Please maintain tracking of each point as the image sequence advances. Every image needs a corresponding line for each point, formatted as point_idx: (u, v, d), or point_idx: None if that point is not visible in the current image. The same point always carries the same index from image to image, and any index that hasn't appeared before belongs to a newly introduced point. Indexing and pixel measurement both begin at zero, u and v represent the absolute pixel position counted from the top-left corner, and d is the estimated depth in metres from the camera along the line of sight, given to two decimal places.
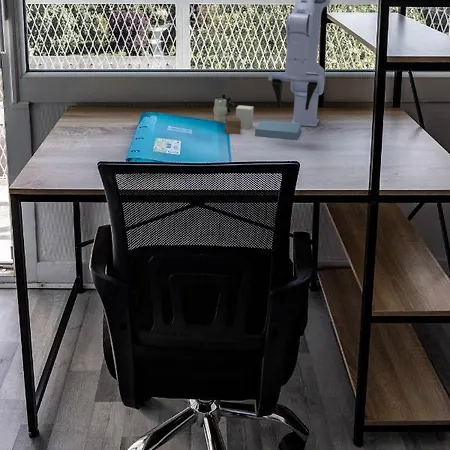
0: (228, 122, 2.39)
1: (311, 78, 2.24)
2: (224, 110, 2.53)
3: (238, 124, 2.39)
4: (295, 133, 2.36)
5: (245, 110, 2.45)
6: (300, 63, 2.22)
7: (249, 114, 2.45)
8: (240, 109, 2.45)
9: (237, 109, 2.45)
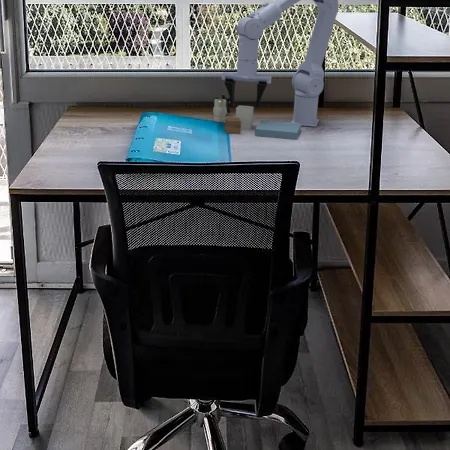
0: (228, 122, 2.39)
1: (261, 78, 2.42)
2: (224, 110, 2.53)
3: (238, 124, 2.39)
4: (295, 133, 2.36)
5: (245, 110, 2.45)
6: (250, 64, 2.40)
7: (249, 114, 2.45)
8: (240, 109, 2.45)
9: (237, 109, 2.45)
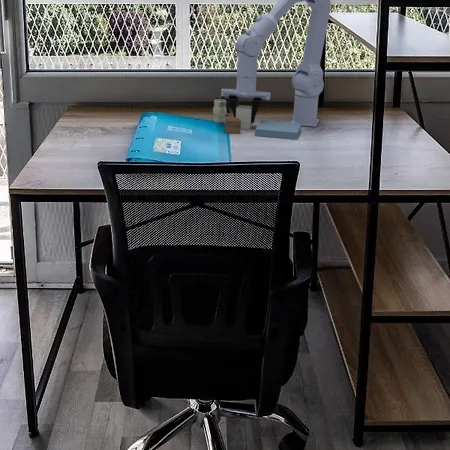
0: (228, 122, 2.39)
1: (260, 94, 2.43)
2: (224, 111, 2.52)
3: (238, 124, 2.39)
4: (295, 133, 2.36)
5: (245, 110, 2.45)
6: (249, 80, 2.42)
7: (249, 114, 2.45)
8: (240, 109, 2.45)
9: (237, 109, 2.45)
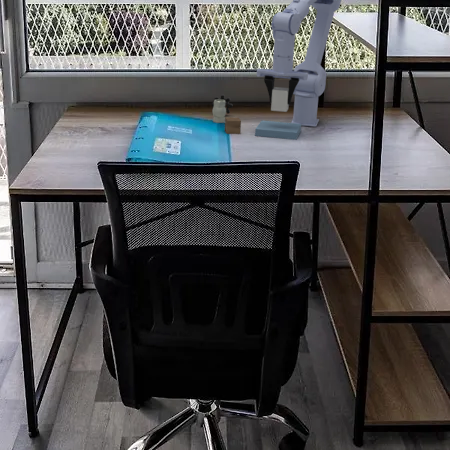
0: (228, 122, 2.39)
1: (297, 74, 2.35)
2: (223, 111, 2.52)
3: (238, 124, 2.39)
4: (295, 133, 2.36)
5: (282, 92, 2.37)
6: (286, 60, 2.34)
7: (286, 96, 2.37)
8: (276, 91, 2.37)
9: (273, 91, 2.37)
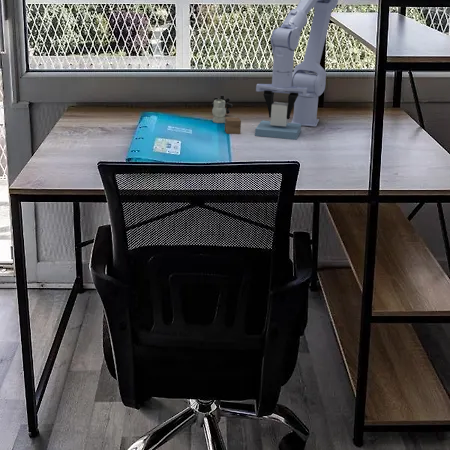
0: (228, 122, 2.39)
1: (296, 89, 2.37)
2: (223, 111, 2.52)
3: (238, 124, 2.39)
4: (295, 133, 2.36)
5: (281, 107, 2.38)
6: (286, 75, 2.35)
7: (285, 111, 2.38)
8: (276, 105, 2.39)
9: (273, 105, 2.39)
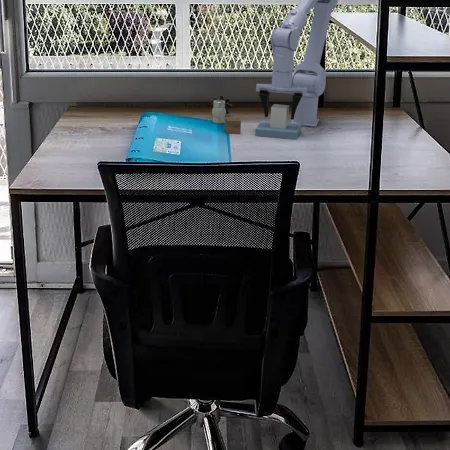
0: (228, 122, 2.39)
1: (296, 89, 2.37)
2: (223, 111, 2.51)
3: (238, 124, 2.39)
4: (295, 133, 2.36)
5: (280, 109, 2.39)
6: (286, 75, 2.35)
7: (284, 113, 2.39)
8: (275, 108, 2.39)
9: (272, 108, 2.39)
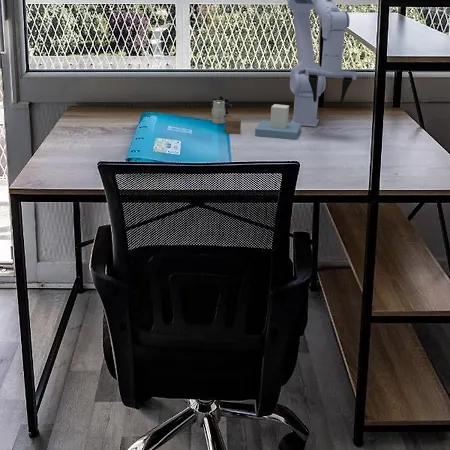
0: (228, 122, 2.39)
1: (346, 73, 2.34)
2: (223, 112, 2.51)
3: (238, 124, 2.39)
4: (295, 133, 2.36)
5: (280, 109, 2.39)
6: (336, 59, 2.33)
7: (284, 113, 2.39)
8: (275, 108, 2.39)
9: (272, 108, 2.39)
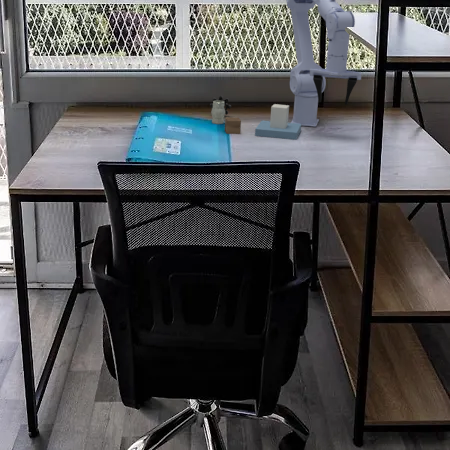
0: (228, 122, 2.39)
1: (351, 74, 2.34)
2: (222, 112, 2.50)
3: (238, 124, 2.39)
4: (295, 133, 2.36)
5: (280, 109, 2.39)
6: (341, 59, 2.33)
7: (284, 113, 2.39)
8: (275, 108, 2.39)
9: (272, 108, 2.39)
